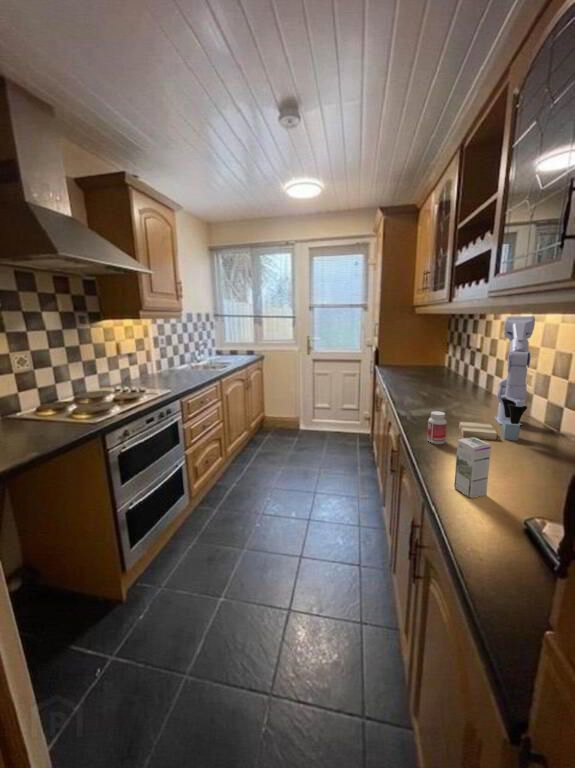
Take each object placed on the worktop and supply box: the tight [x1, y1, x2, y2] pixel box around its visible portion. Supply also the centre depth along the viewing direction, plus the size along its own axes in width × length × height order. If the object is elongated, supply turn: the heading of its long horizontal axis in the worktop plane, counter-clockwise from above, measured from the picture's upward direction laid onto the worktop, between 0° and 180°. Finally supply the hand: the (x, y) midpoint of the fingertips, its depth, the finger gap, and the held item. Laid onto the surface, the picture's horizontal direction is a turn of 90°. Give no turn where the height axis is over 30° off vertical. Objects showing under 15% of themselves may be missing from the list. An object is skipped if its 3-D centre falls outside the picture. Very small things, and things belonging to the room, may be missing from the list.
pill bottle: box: [426, 410, 447, 445], centre depth 123 cm, size 6×6×11 cm
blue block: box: [500, 420, 521, 441], centre depth 126 cm, size 4×4×6 cm
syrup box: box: [453, 437, 492, 498], centre depth 89 cm, size 6×6×14 cm
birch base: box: [458, 421, 498, 441], centre depth 131 cm, size 11×11×2 cm
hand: (511, 420), depth 125 cm, fingers open, 7 cm apart
